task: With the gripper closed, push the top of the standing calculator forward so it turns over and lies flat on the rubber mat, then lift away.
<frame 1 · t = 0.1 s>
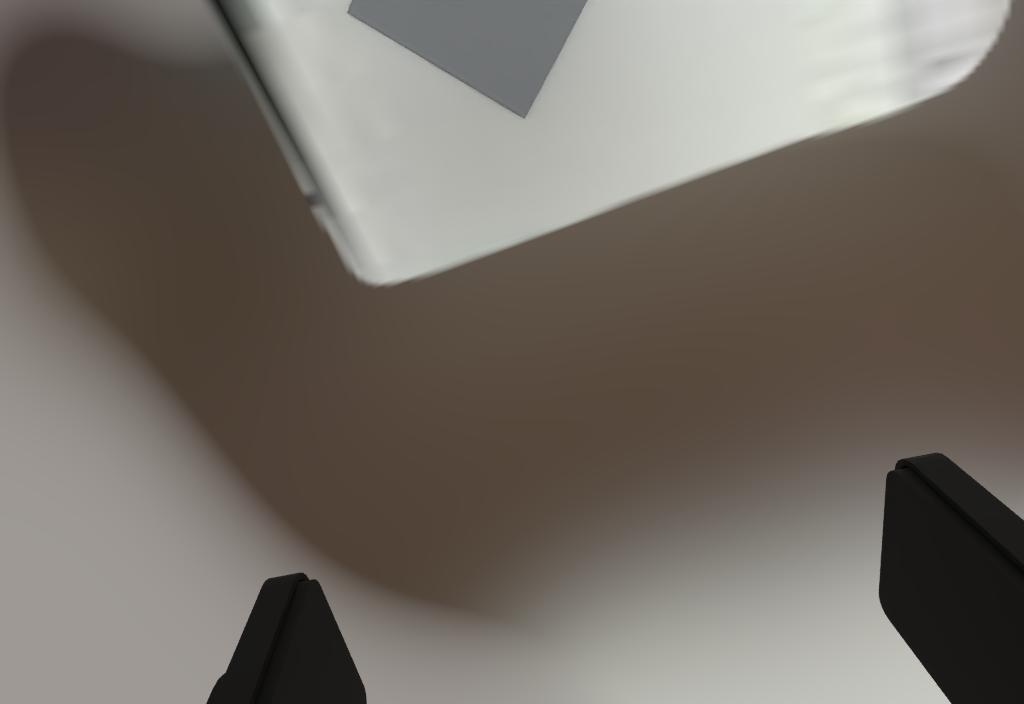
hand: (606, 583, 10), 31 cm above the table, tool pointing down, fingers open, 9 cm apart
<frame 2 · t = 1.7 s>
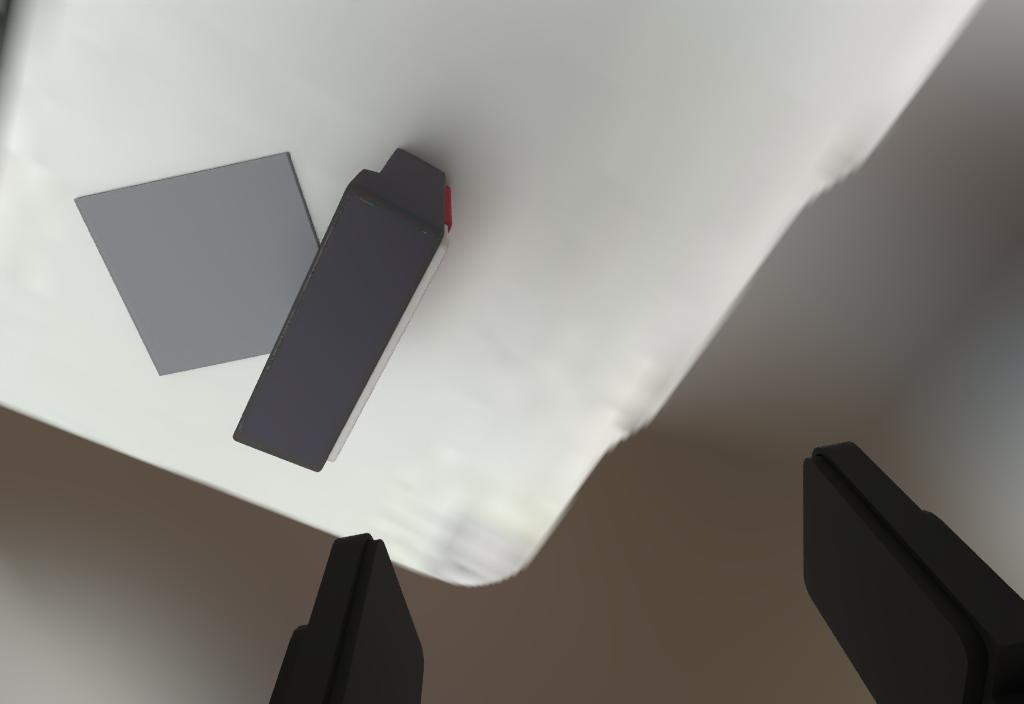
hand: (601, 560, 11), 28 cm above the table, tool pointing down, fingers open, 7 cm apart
calculator: (381, 245, 36), on the table, touching mat
mat: (221, 270, 36), on the table
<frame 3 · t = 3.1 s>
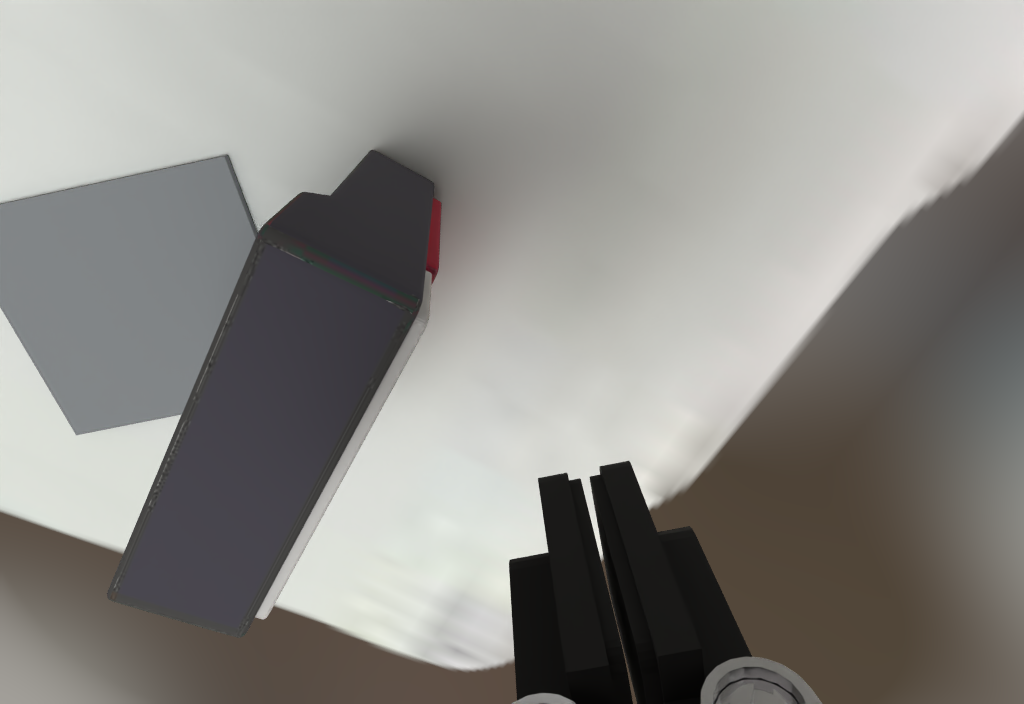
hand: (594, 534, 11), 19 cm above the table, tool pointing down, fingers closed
calculator: (353, 274, 28), on the table, touching mat
mat: (147, 305, 28), on the table
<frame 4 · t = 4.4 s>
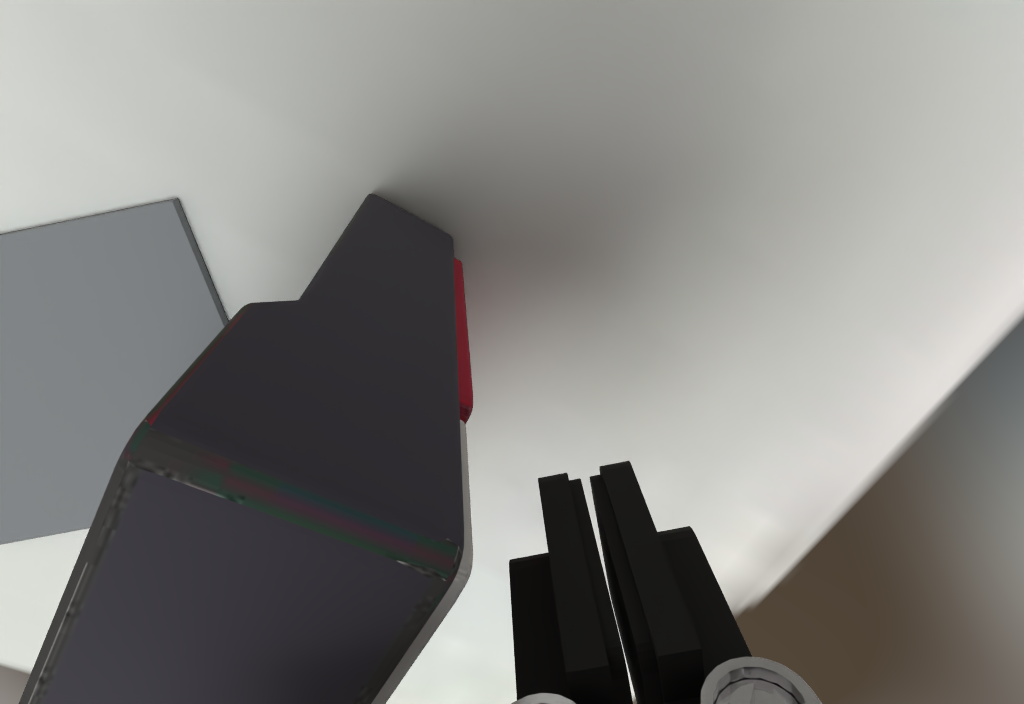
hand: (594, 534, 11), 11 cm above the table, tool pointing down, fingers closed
calculator: (344, 350, 22), on the table, touching mat
mat: (76, 388, 22), on the table
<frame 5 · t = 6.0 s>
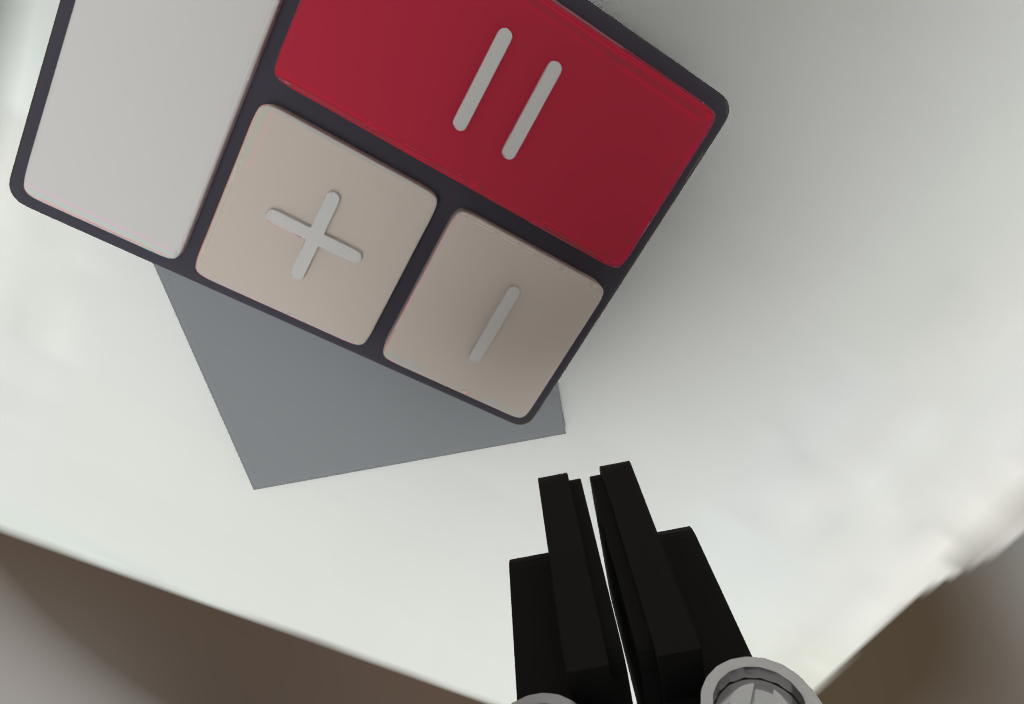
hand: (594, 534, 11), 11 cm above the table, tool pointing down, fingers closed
calculator: (616, 272, 19), point 2 cm above the table, touching mat
mat: (369, 324, 22), on the table
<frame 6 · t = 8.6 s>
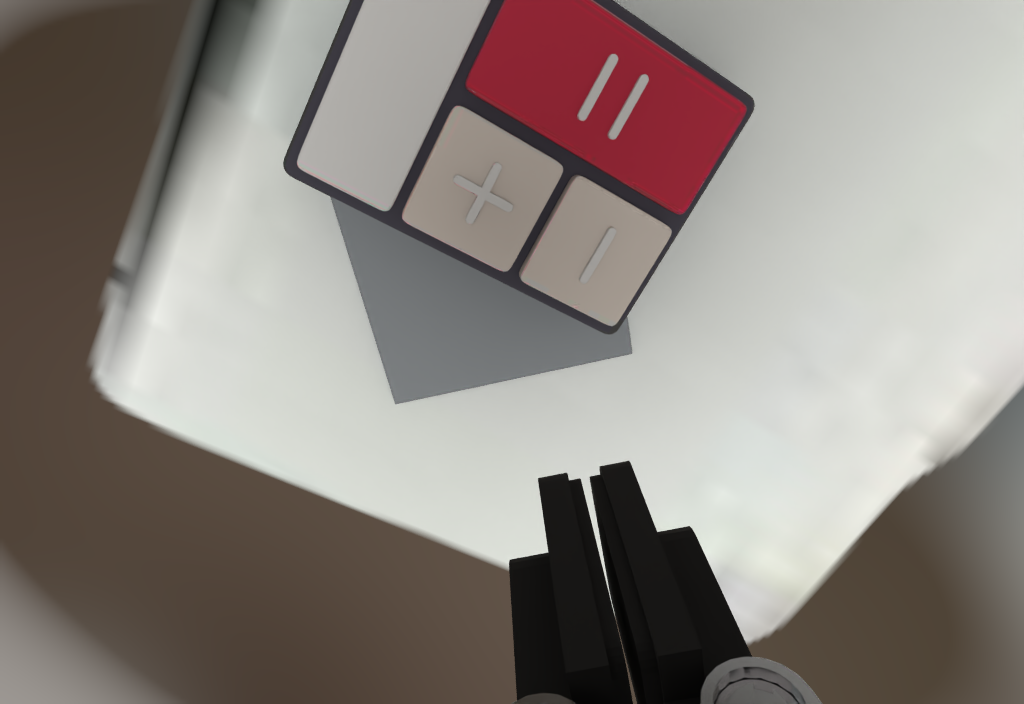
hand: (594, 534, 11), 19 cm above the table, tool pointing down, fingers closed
calculator: (674, 223, 27), point 2 cm above the table, touching mat
mat: (489, 271, 29), on the table
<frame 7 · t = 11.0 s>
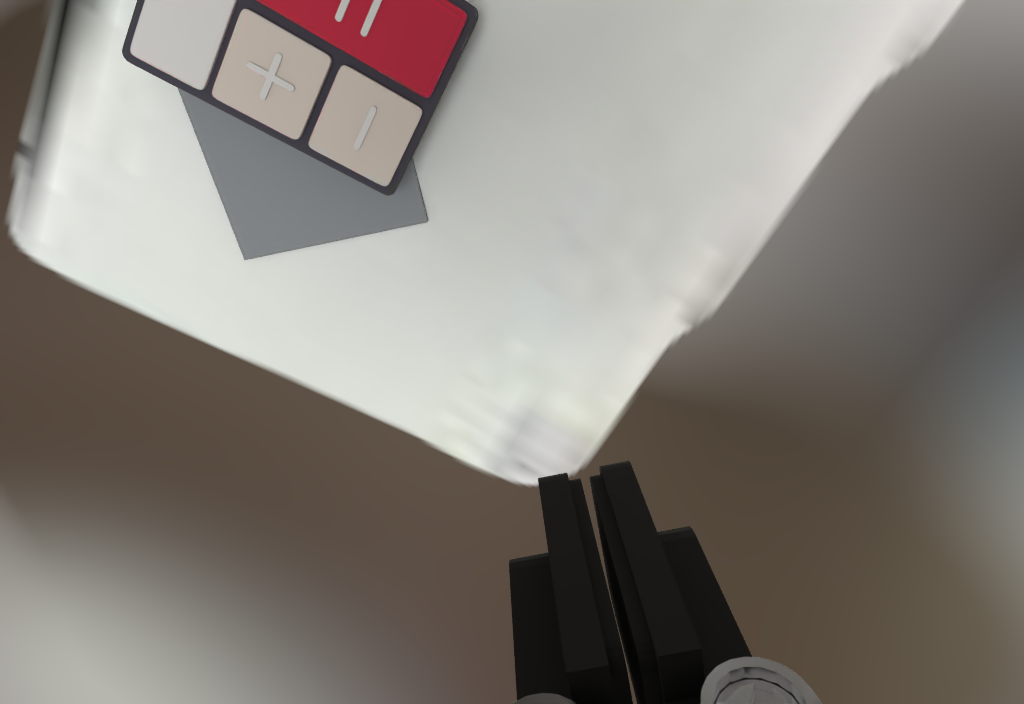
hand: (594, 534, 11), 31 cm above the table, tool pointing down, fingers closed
calculator: (438, 110, 36), point 2 cm above the table, touching mat
mat: (308, 151, 38), on the table
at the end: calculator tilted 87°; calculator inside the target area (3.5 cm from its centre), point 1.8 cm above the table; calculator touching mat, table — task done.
